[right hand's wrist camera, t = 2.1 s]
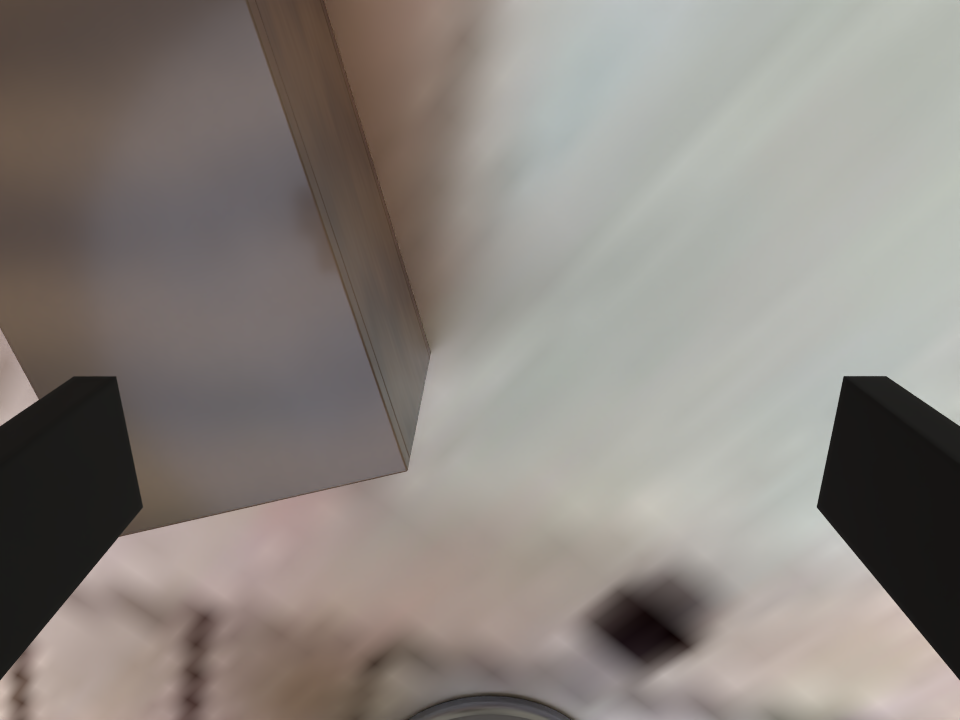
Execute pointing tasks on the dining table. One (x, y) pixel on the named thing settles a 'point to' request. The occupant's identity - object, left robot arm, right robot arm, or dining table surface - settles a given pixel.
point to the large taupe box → (205, 245)
